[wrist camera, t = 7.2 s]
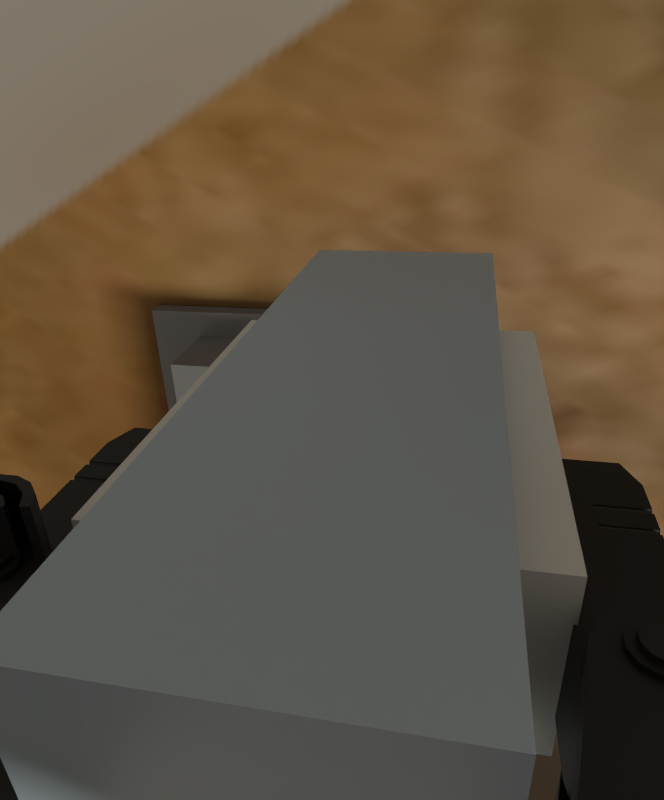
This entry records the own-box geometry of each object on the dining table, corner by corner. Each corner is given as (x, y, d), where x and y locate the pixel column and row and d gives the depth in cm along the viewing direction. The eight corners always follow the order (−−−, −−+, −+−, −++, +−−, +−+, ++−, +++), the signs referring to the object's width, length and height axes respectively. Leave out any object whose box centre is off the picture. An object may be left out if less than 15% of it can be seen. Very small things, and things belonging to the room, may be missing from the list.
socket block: (470, 316, 34) (469, 352, 29) (453, 548, 41) (450, 605, 37) (159, 304, 37) (117, 335, 33) (194, 521, 44) (164, 570, 40)
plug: (492, 253, 14) (535, 754, 4) (479, 409, 16) (484, 1040, 6) (319, 250, 15) (-42, 659, 5) (325, 399, 17) (78, 936, 6)
